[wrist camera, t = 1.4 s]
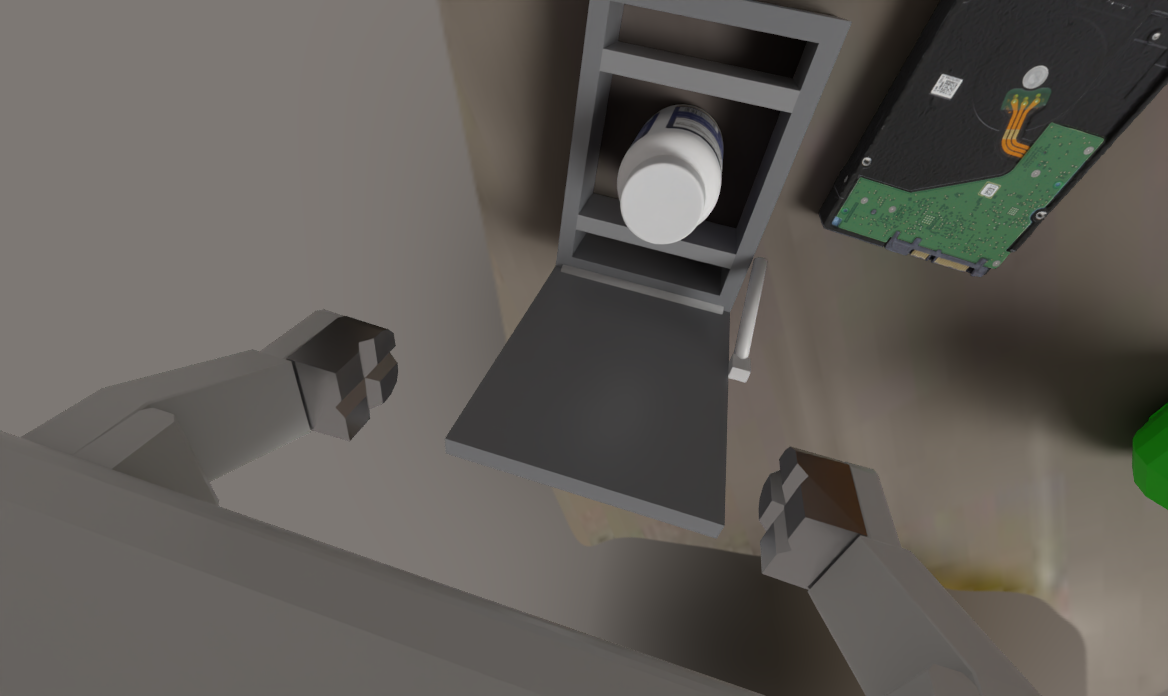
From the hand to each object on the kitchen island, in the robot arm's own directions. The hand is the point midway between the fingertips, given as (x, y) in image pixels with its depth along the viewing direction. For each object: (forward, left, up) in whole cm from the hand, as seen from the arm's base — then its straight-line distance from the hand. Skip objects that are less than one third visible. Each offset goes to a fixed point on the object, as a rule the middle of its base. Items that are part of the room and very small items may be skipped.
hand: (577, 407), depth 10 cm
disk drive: (-4, +15, -26) cm, 30 cm away
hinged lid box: (+2, 0, -25) cm, 25 cm away
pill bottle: (+2, 0, -25) cm, 26 cm away
